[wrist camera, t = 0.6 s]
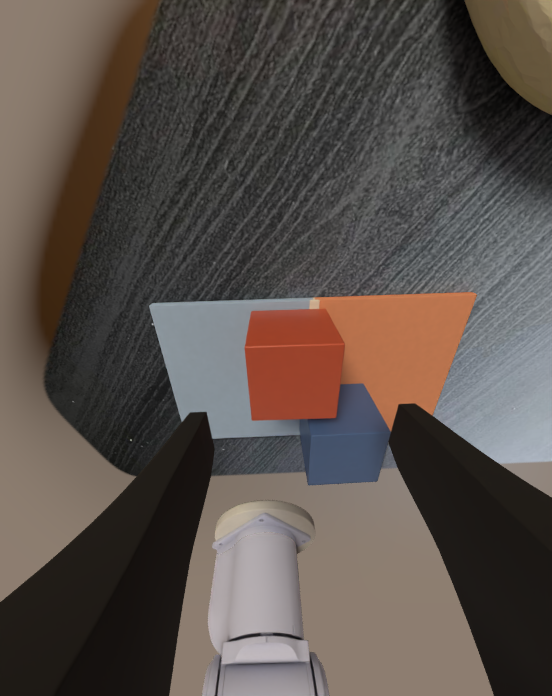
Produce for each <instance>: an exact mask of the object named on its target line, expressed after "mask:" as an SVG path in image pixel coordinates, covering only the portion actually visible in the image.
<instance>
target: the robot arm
mask: <svg viewBox="0 0 552 696" xmlns="http://www.w3.org/2000/svg"><path fill="white" fill-rule="evenodd" d="M388 442H389V445H390V448H391V451H392V454H393V457H394V459H395V462H396V464H397V467H398V469H399V471H400V473H401V475H402V477H403V479H404V481H405V483H406V485H407V487H408V489H409V491H410V493H411V495H412V497H413V499H414V501H415V503H416V505H417V507H418V509H419V511H420V513H421V515H422V517H423V518H424V520H425V522H426V524H427V526H428V528H429V530H430V532H431V534H432V536H433V538H434V540H435V542H436V545H437V547H438V549H439V551H440V554H441V556H442V559H443V561H444V563H445V566H446V568H447V571H448V573H449V575H450V578H451V580H452V583H453V585H454V588H455V590H456V593H457V595H458V598H459V601H460V603H461V606H462V608H463V611H464V614H465V616H466V619H467V621H468V624H469V626H470V629H471V632H472V635H473V637H474V640H475V643H476V646H477V648H478V651H479V654H480V657H481V660H482V662H483V665H484V668H485V671H486V673H487V676H488V679H489V682H490V685H491V688H492V691H493V694H494V696H552V497H550V496H548V495H547V494H545V493H543V492H542V491H540V490H538V489H537V488H535V487H533V486H532V485H530V484H529V483H527V482H526V481H524V480H522V479H521V478H519V477H518V476H516V475H515V474H513V473H512V472H510V471H509V470H507V469H506V468H504V467H503V466H501V465H500V464H498V463H497V462H495V461H494V460H492V459H491V458H490V457H488V456H487V455H485V454H484V453H482V452H481V451H480V450H478V449H477V448H475V447H474V446H473V445H471V444H470V443H468V442H467V441H466V440H464V439H463V438H462V437H460V436H459V435H457V434H456V433H455V432H453V431H452V430H451V429H449V428H448V427H447V426H445V425H444V424H443V423H441V422H440V421H439V420H437V419H436V418H435V417H433V416H432V415H431V414H429V413H428V412H427V411H425V410H424V409H422V408H421V407H420V406H418V405H417V404H415V403H408V404H399V405H398V408H397V412H396V416H395V419H394V423H393V426H392V430H391V434H390V437H389V441H388ZM214 450H215V449H214V444H213V439H212V435H211V430H210V425H209V421H208V416H207V412H190V413H189V414H188V415H187V416H186V418H185V419H184V420H183V422H182V423H181V424H180V425H179V427H178V428H177V429H176V431H175V432H174V433H173V434H172V436H171V437H170V438H169V439H168V441H167V442H166V443H165V444H164V446H163V447H162V448H161V449H160V450H159V451H158V453H157V454H156V455H155V456H154V457H153V459H152V460H151V461H150V462H149V463H148V465H147V466H146V467H145V468H144V469H143V470H142V471H141V472H140V473H139V475H138V476H137V477H136V478H135V479H134V480H133V481H132V482H131V483H130V485H129V486H128V487H127V488H126V489H125V490H124V491H123V492H122V493H121V494H120V495H119V496H118V497H117V498H116V499H115V500H114V501H113V502H112V503H111V505H109V506H108V508H107V509H105V511H103V512H102V513H101V514H100V515H99V516H98V517H97V518H96V519H95V520H94V521H93V522H92V523H91V524H90V525H89V526H88V527H87V528H86V529H85V530H83V531H82V532H81V533H80V534H79V535H78V536H77V537H76V538H75V539H74V540H73V541H72V542H70V543H69V544H68V545H67V546H66V547H65V548H64V549H63V550H62V551H61V552H59V553H58V554H57V555H56V556H55V557H54V558H53V559H51V560H50V561H49V562H48V563H47V564H46V565H45V566H43V567H42V568H41V569H40V570H39V571H37V572H36V573H35V574H34V575H33V576H31V577H30V578H29V579H28V580H27V581H25V582H24V583H23V584H22V585H21V586H19V587H18V588H17V589H16V590H14V591H13V592H12V593H11V594H10V595H9V596H7V597H6V598H5V599H4V600H3V601H1V602H0V696H169V693H170V685H171V679H172V672H173V665H174V657H175V650H176V644H177V637H178V631H179V624H180V618H181V611H182V605H183V599H184V593H185V587H186V581H187V576H188V570H189V564H190V559H191V554H192V550H193V545H194V541H195V537H196V533H197V529H198V525H199V521H200V518H201V513H202V510H203V505H204V502H205V498H206V494H207V489H208V486H209V482H210V478H211V472H212V465H213V457H214ZM310 540H311V537H310V535H308V534H307V533H305V532H303V531H301V530H299V529H297V528H295V527H293V526H291V525H289V524H287V523H285V522H283V521H281V520H280V519H278V518H276V517H274V516H272V515H270V514H268V513H262V514H260V515H258V516H257V517H255V518H253V519H252V520H250V521H248V522H247V523H245V524H243V525H242V526H240V527H238V528H237V529H235V530H233V531H232V532H230V533H228V534H227V535H225V536H223V537H222V538H220V539H218V540H217V541H215V542H214V543H212V548H213V549H215V550H217V556H216V562H215V570H214V576H213V584H212V590H211V597H210V604H209V611H208V627H209V634H210V638H211V641H212V644H213V646H214V647H215V649H216V650H217V652H218V653H220V655H215V656H214V658H213V660H212V661H211V663H210V664H209V665H208V667H207V671H206V675H205V680H204V686H203V693H202V696H329V691H328V684H327V679H326V675H325V671H324V668H323V665H322V663H321V662H320V661H319V659H318V657H317V655H316V654H315V653H314V652H309V644H308V640H304V634H303V622H302V611H301V600H300V587H299V576H298V564H297V552H296V548H297V547H299V546H301V545H303V544H305V543H307V542H309V541H310ZM221 655H222V660H221Z"/></svg>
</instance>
